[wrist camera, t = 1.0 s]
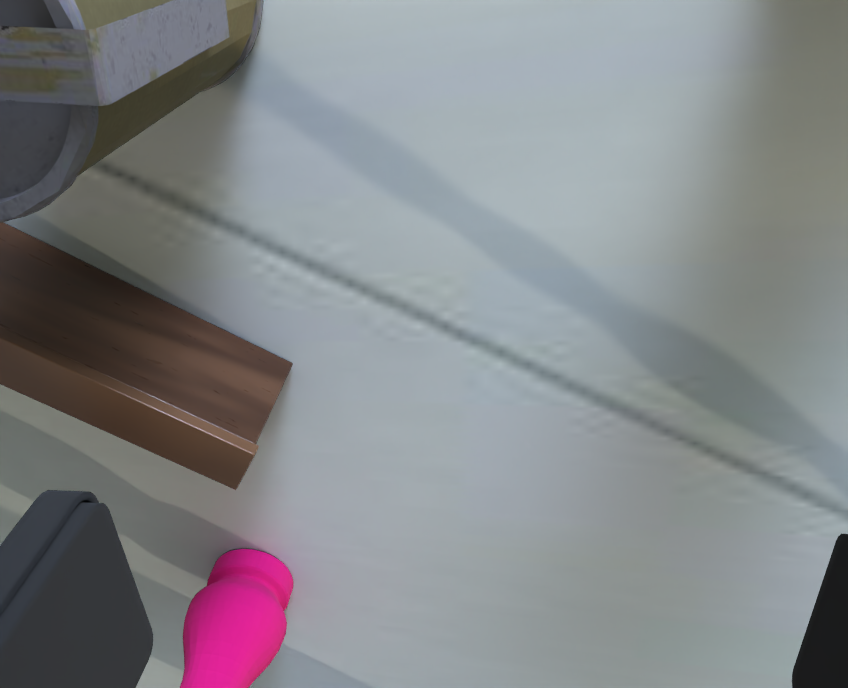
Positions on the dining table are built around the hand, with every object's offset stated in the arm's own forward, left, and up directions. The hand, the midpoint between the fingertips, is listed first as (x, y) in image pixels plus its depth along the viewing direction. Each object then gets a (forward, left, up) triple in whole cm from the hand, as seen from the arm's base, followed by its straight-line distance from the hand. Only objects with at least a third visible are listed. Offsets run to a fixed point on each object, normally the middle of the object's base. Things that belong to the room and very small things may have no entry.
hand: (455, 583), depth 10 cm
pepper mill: (+42, +3, -32) cm, 52 cm away
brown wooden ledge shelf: (+25, -14, -32) cm, 43 cm away
